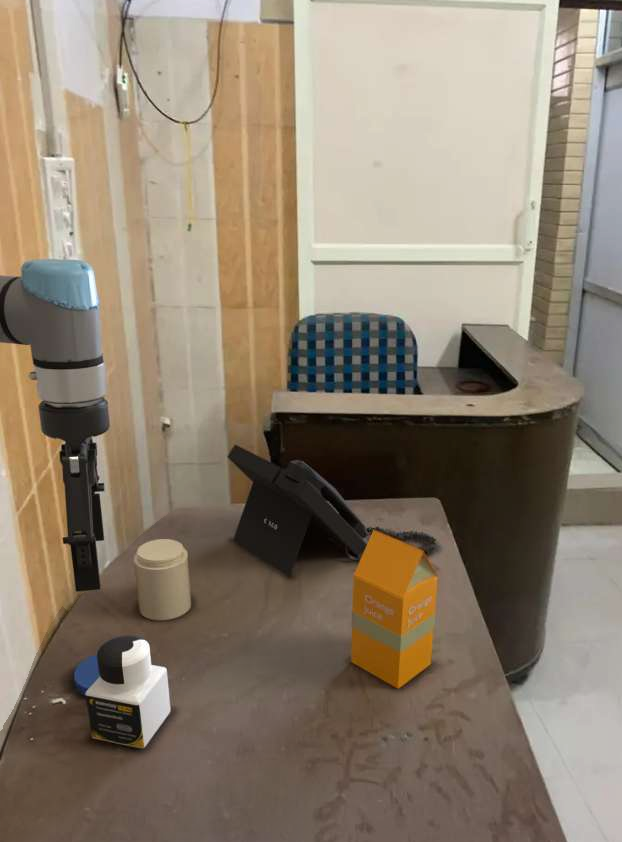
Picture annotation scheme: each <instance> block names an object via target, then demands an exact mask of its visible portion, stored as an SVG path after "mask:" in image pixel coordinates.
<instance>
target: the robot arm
mask: <svg viewBox="0 0 622 842" xmlns="http://www.w3.org/2000/svg"><path fill="white" fill-rule="evenodd" d="M20 271H21V272H20V273H21V275H20V276H15V275H14V276H13V275H2V274H0V343H1V344H2V343H3V344H13V345H22V346H30V352H31V353H30V354H31V359H32V364H33V370H34V371H30V372H29V373H28V378H29V379H30V380H31V381H37V382H36V384H35V386H36V395H37V398H39V400H41V401H40V403H39V404H38V414H39V415H38V416H39V422H40V431H41V432H42V434H43V435H44V436H46V437H48V438H50V439H54V440H57V439H58V440H61V441H63V442H64V443H61V444H60V445H61V446H60V447H61V450H59V462H60V465H61V467H62V469H61V471H62V483H63V485H64V497H65V498H64V499H65V515H66V529H67V530H66V531H67V536H63V537H62V544H63V545H68V546H70V555H71V561H72V570H73V579H74V588H75V592H76V593H77V592H79V593H80V592H86V591H87V592H88V591H97V590H101V587H102V586H101V577H100V576H101V575H100V568H99V558H98V548H97V542H102V541H103V542H104V541H105V532H104V523H103V522H104V521H103V514H102V513H103V511H102V504H101V503H102V502H101V494H100V493H101V492H102V493H103V492H105V482H99V480H100V475H99V473H98V444H97V442H94V440H93V439H94V438H95V437H96V438H97V437H98V436H101V435H103V434H105V433H106V432H108V430H109V429H110V426H111V425H110V423H111V422H110V414H109V412H110V411H109V402H108V400H107V399H106V398H105V396H106V395H107V394H108V386H107V376H106V362H105V360H104V354H103V348H102V336H101V335H102V333H101V319H100V318H101V317H100V315H101V314H100V305H101V302H100V298H99V296H98V290H97V284H96V277H95V271H94V269H93V267H92V266H91V265H90V263H88V262H86V261H83V260H78V259H71V258H70V259H69V258H68V259H65V258H63V259H61V258H59V259H57V258H38V259H30V260H26V261H24V262H23V263H22V264H21V267H20ZM93 437H94V438H93Z"/></svg>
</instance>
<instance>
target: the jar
mask: <svg viewBox="0 0 622 842" xmlns="http://www.w3.org/2000/svg"><path fill="white" fill-rule="evenodd" d="M133 565H134V566H133V567H134V576H135V584H136V585H135V586H136V593H137V602H138V611H139V613H140V614H141V616H143V617H144V618H146V619H148V620H153V621H169V620H174V619H176V618H179V617H181V616H183V615H185V614H187V612H188V611H190V609H191V607H192V595H191V594H192V593H191V581H190V580H191V579H190V567H189V554H188V551H187V550H186V549H185V547H184V546H183V544H182V543H181V542H179V541H177V540H175V539H168V538H161V539H160V538H159V539H152V540H149V541H147V542H144V543H143V544H142V545H140V546H139V547H138V548H137V550H136V553H135V554H134V557H133Z"/></svg>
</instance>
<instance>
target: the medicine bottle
mask: <svg viewBox="0 0 622 842" xmlns="http://www.w3.org/2000/svg"><path fill="white" fill-rule="evenodd" d="M96 652H97V653H96V654H97V662H98V669H99V676H100V677H99V678H98V679H97V680H96V681H95V682H94V684H93V685H92V686H91V687H90V688H89V689H88V690H87V691H86V693H85V695H86V696H85V702H86V709H87V715H88V722H89V728H90V734H91V735H90V736H91V738H92V739H94V740H99V741H104V742H108V743H114V744H118V745H123V746H128V747H133V748H137V749H145V748H146V747H147V745H148V744H149V743H150V741H151V740H152V738H153V737H154V735H155V734H156V733H157V732H158V730H159V728H160V727H161V726H162V724H164V722H165V720H166V719H167V717H168V716H169V715H170V713H171V710H172V709H171V701H170V700H171V699H170V689H169V681H168V679H169V678H168V670H167V668H166V667H165V666H160V665H156V664H155V665H154V664H152V658H151V648H150V644H149V642H148V641H147V640H145V639H144V638H142V637H140V636H137V635H121V636H116V637H113V638H111V639H108V640H107V641H106V642H104V643H103V644H101V646H100V647H99V648H98V650H97V651H96Z"/></svg>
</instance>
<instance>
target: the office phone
mask: <svg viewBox="0 0 622 842" xmlns="http://www.w3.org/2000/svg"><path fill="white" fill-rule="evenodd" d="M227 459H228V460H229V461H231V463H232V464H233V465H235V467H237V469H239V471H241V472H242V473H243V475H245V476H246V477H247V478H248V479H249V480H250V481H251V482H252V483H251V487H250V489H249V493H248V495H247V498H246V502H245V505H244V507H243V510H242V513H241V515H240V519H239V521H238V525H237V528H236V530H235V534H234V535H233V538H232V540H233V541H234V542H236V543H237V544H239V545H240V546H241V547H243V548H244V549H246V550H248V551H249V552H251V553H252V554H254V555H255V556H257V557H258V558H260V559H261V560H263V561H264V562H266V563H267V564H269V565H271V566H272V567H274V568H275V569H276V570H278V571H279V572H281V573H282V574H284V576H287V577H288V578H290V577H291V574H292V572H293V569H294V566H295V563H296V561H297V558H298V555H299V552H300V549H301V547H302V544H303V541H304V538H305V535H306V532H307V530H308V528H309V529H311V530H313V531H314V532H315V533H317V534H320V535H321V536H323V537H325V538H326V539H328V540H330V541H332V542H333V543H334V544H337V545H338V546H339V547H341V548H343V549H344V550H345V554H346V555H347V557H348V558H349V560H354V561H360V560H361V557H362V555H363V553H364V551H365V548H366V546H367V544H368V542H366V541H365V538H367V537H371V534H372V532H373V529H374V530H377V531H379V532H381V533H384V534H386V535H388V536H391V537H393V538H395V539H398V540H405V541H406V539H407V540H409V539H410V540H411V539H413V540H415V541H416V540H417V539H419V540H421V541H422V540H423V541H424V542H426V545H419V546H417V548H419V549H421V550H423V551H424V553H425V554H426V553H427V554H429V553H430V552H433V551H434V550H436V547H437V539H436V538H435V536H432V535H431V534H429V533H424V532H423V531H418V530H416V531H414V530H410V531H399V532H398V531H397V532H396V530H392V529H388V528H384V527H380V526H375V527H373V526H369V527H367V526H366V525H365V523H364V522H363V521H362V520H361V518H359V516H358V515H357V513H356V512H355V511H354V510H353V509H352V508H351V506H350V505H349V504H348V503H347V501H346V500H345V499H344V498H343V496H342V495H341V494H340V493H339V491H338V490H337V489H336V488H335V487H334V486H333V485H332V484H330V483H329V482H328V481H327V480H326V479H325V478H324V477H322V476H321V475H320V474H319V473H318V472H317V471H315V470H314V469H313V468H312V467H310V465H308V464H307V463H306V462H304V460H303V461H302V460H300V459H294V460H291V461H289V462H288V464H287V467H286V468H282V467H281V466H279V465H277V464H275V463H273V462H271V461H269V460H267V459H265V458H263V457H261V456H260V455H258V454H256V453H253V452H251V451H249V450H247V449H245V448H244V447H241V446H239V445H237V444H234V445H233V447H232V448H231V450H230V452H229V453H228V455H227ZM349 552H351V553H352V554H353V555H355V556H357V557H355V556H353V555H351V554H349Z"/></svg>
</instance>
